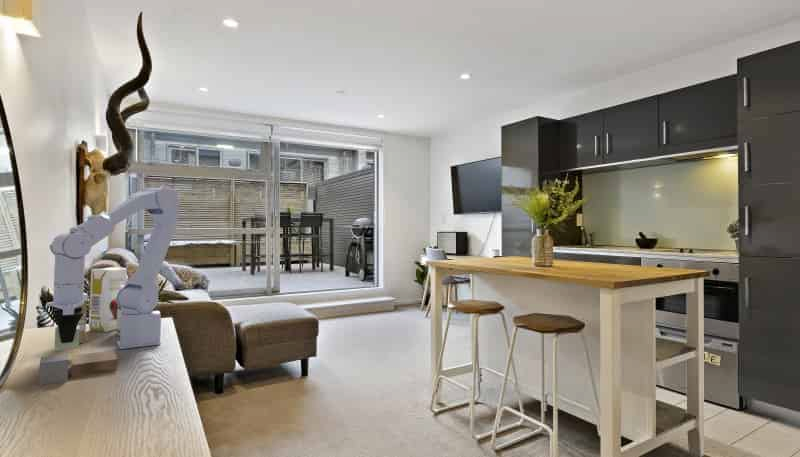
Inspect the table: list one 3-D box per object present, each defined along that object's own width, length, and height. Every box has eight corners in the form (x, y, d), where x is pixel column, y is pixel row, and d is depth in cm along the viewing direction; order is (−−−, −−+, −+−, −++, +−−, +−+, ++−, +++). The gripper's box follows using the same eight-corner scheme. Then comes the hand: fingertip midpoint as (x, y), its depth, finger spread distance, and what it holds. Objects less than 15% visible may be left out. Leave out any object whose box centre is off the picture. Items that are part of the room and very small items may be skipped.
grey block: (67, 375, 91) (68, 354, 91) (67, 381, 88) (68, 359, 88) (39, 379, 89) (40, 357, 89) (38, 385, 85) (39, 363, 85)
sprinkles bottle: (85, 343, 115) (87, 294, 115) (63, 345, 113) (65, 295, 113) (86, 339, 119) (88, 292, 119) (65, 341, 116) (67, 292, 117)
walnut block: (113, 362, 101) (114, 350, 101) (116, 372, 95) (117, 359, 95) (71, 368, 96) (71, 355, 96) (71, 378, 90) (72, 364, 90)
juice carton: (84, 331, 128) (86, 268, 128) (107, 325, 137) (110, 266, 137) (105, 333, 127) (108, 269, 127) (128, 327, 135) (130, 267, 136)
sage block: (78, 343, 105) (79, 325, 105) (78, 347, 101) (79, 328, 101) (54, 346, 102) (55, 327, 102) (54, 350, 98) (55, 331, 98)
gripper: (48, 280, 105) (46, 335, 105) (46, 288, 93) (44, 349, 93) (84, 279, 109) (82, 332, 109) (86, 286, 98) (83, 345, 98)
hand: (67, 340), depth 101 cm, fingers closed on sage block, 4 cm apart
